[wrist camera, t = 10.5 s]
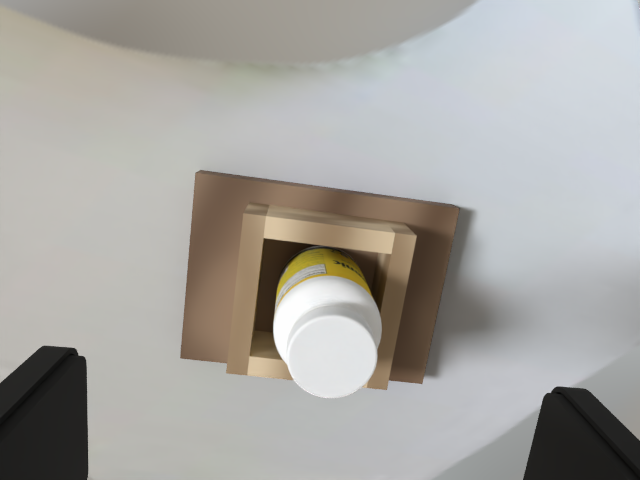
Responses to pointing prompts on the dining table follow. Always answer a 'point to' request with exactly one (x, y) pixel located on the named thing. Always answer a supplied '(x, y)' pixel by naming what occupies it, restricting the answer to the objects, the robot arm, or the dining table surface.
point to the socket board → (290, 238)
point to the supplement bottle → (326, 322)
